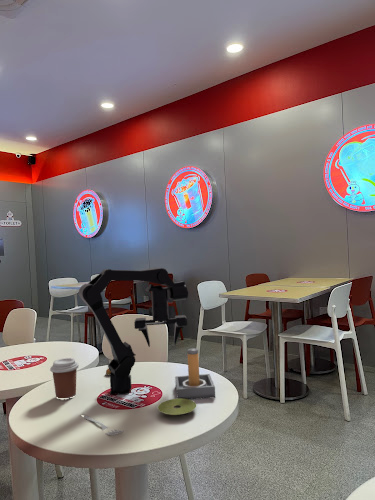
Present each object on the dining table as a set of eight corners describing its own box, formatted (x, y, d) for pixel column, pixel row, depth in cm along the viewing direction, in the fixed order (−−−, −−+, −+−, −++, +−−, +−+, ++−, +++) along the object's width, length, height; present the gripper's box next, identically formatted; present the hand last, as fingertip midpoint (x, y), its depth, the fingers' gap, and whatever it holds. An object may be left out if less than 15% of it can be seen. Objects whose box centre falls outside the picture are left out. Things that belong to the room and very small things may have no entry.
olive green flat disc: (154, 407, 116) (154, 401, 116) (190, 401, 119) (190, 395, 119) (162, 424, 105) (162, 417, 105) (201, 417, 108) (201, 410, 108)
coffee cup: (53, 404, 122) (51, 367, 122) (50, 394, 130) (48, 359, 130) (82, 398, 126) (80, 362, 126) (77, 389, 134) (75, 355, 134)
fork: (80, 410, 117) (80, 405, 117) (125, 436, 100) (125, 430, 100) (70, 414, 115) (70, 408, 115) (115, 441, 98) (115, 434, 98)
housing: (177, 400, 120) (177, 389, 120) (175, 386, 132) (175, 376, 132) (215, 397, 121) (214, 386, 121) (209, 383, 133) (209, 373, 133)
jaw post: (197, 391, 124) (195, 351, 124) (187, 390, 126) (185, 350, 126) (201, 387, 128) (199, 348, 127) (192, 386, 129) (190, 348, 129)
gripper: (184, 297, 146) (186, 338, 147) (135, 300, 145) (137, 341, 145) (186, 302, 135) (188, 346, 136) (133, 305, 134) (135, 349, 134)
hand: (162, 345), depth 138 cm, fingers open, 9 cm apart
